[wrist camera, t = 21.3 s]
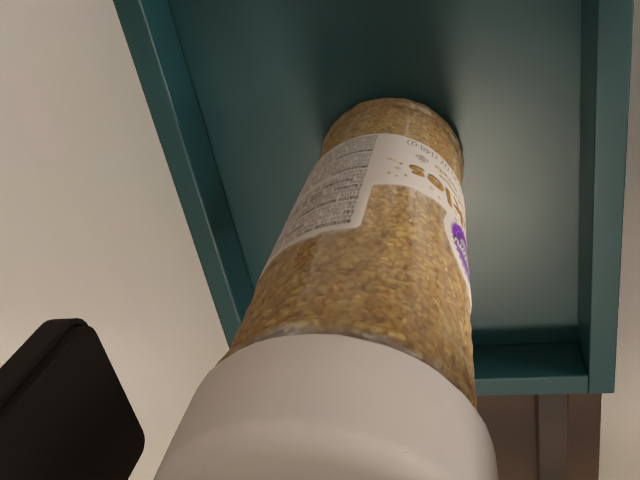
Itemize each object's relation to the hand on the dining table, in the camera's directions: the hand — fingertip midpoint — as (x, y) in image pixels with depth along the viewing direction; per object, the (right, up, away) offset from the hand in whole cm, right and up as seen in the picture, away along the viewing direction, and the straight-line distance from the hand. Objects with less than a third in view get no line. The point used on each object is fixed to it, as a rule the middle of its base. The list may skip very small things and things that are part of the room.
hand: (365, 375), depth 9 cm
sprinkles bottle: (+1, +5, +9) cm, 11 cm away
